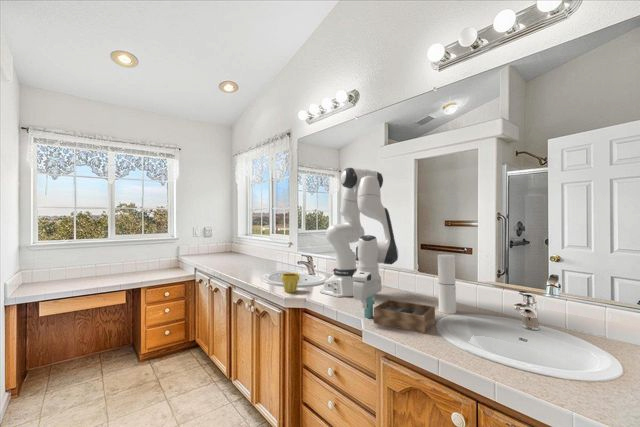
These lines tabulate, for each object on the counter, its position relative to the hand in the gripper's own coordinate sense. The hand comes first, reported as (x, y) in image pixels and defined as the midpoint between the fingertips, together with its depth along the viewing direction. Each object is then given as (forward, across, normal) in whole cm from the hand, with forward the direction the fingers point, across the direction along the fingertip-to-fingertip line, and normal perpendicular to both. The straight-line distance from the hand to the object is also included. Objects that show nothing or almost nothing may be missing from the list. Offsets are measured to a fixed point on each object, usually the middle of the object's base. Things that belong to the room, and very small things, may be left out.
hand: (368, 305), depth 129 cm
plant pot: (+5, -16, -58) cm, 60 cm away
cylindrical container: (+5, -26, +26) cm, 37 cm away
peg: (+5, 0, 0) cm, 5 cm away
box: (+5, -2, +15) cm, 16 cm away
